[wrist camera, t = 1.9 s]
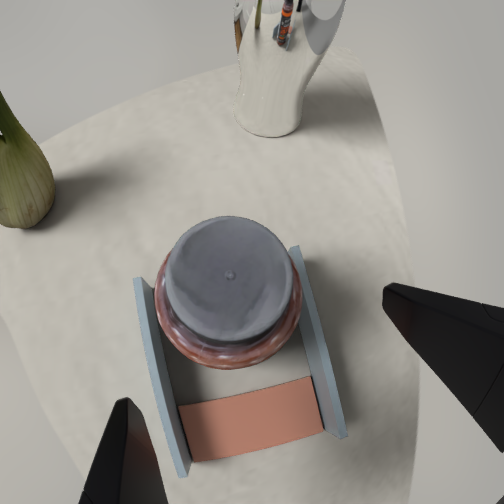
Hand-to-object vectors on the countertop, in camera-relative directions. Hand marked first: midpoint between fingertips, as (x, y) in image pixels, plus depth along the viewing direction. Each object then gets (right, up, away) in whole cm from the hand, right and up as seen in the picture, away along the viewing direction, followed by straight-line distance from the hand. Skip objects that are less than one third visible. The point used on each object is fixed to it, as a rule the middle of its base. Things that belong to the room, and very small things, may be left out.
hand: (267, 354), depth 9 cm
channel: (-1, -4, +10) cm, 11 cm away
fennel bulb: (-18, +7, +12) cm, 23 cm away
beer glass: (+1, +15, +17) cm, 23 cm away
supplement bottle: (-2, -1, +11) cm, 11 cm away
